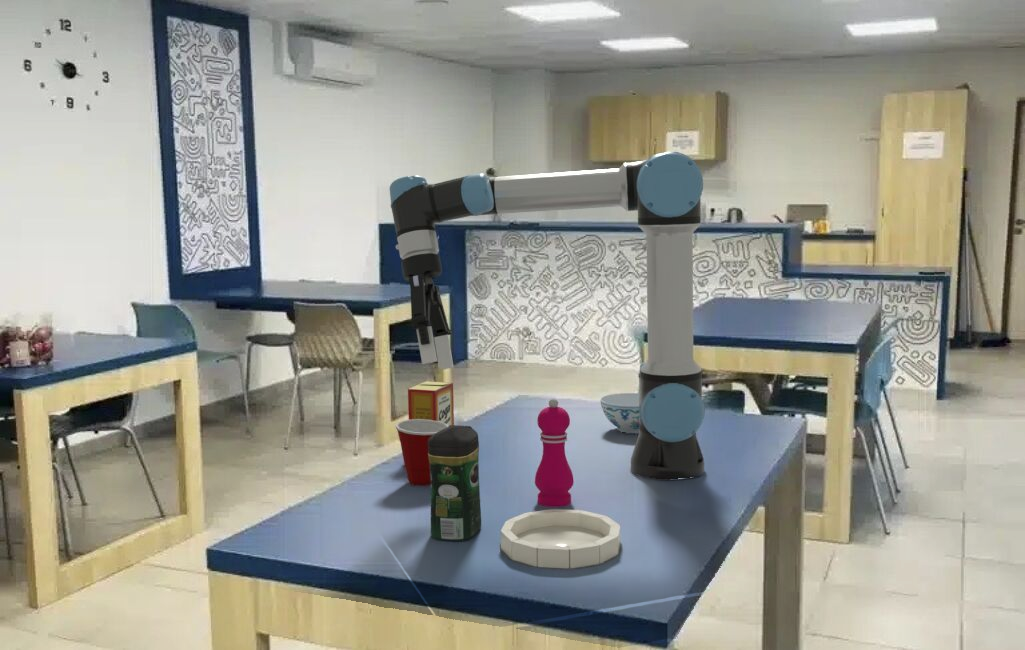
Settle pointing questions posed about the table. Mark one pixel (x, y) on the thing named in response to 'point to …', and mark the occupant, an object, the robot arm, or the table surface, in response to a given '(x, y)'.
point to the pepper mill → (554, 458)
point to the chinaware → (622, 411)
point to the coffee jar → (454, 483)
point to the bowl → (560, 538)
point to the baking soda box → (432, 402)
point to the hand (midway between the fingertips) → (438, 366)
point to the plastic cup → (417, 447)
